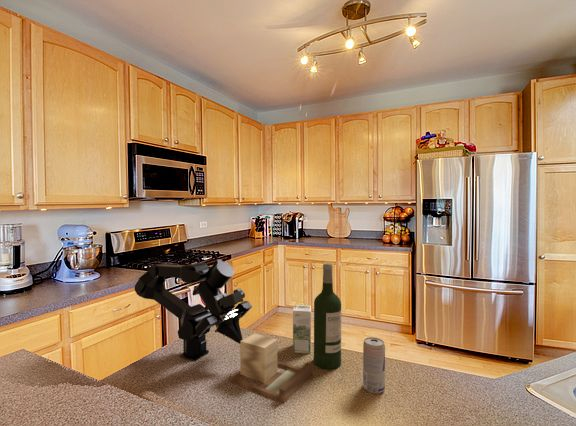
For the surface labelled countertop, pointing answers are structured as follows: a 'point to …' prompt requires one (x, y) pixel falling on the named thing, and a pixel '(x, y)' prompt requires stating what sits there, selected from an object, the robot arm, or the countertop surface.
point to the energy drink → (374, 365)
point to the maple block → (258, 357)
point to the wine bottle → (327, 324)
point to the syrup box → (302, 329)
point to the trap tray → (278, 382)
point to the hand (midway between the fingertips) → (241, 342)
